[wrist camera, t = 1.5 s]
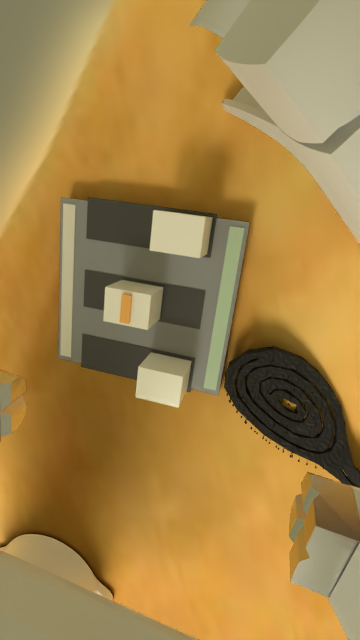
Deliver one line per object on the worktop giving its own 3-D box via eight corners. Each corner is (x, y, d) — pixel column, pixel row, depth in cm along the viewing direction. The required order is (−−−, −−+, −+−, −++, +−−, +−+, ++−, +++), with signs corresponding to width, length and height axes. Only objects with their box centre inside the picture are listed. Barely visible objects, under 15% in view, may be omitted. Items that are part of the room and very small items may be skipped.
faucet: (420, 302, 24) (250, 67, 12) (297, 205, 35) (148, 37, 23) (511, 233, 21) (418, -150, 9) (348, 153, 33) (212, -62, 21)
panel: (219, 390, 34) (217, 398, 33) (65, 355, 37) (57, 361, 36) (250, 218, 29) (250, 218, 28) (69, 194, 32) (60, 193, 31)
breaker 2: (207, 254, 29) (199, 258, 26) (162, 247, 30) (149, 250, 27) (212, 217, 28) (205, 217, 25) (166, 211, 29) (153, 210, 26)
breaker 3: (187, 389, 33) (178, 407, 30) (148, 380, 34) (135, 397, 31) (191, 361, 32) (182, 376, 29) (151, 352, 33) (138, 366, 30)
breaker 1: (159, 318, 32) (146, 331, 28) (119, 310, 33) (101, 322, 29) (163, 287, 31) (149, 295, 27) (121, 279, 32) (103, 287, 28)
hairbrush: (380, 574, 33) (201, 391, 31) (368, 539, 36) (206, 372, 34) (465, 538, 30) (275, 334, 28) (443, 504, 33) (272, 320, 31)
